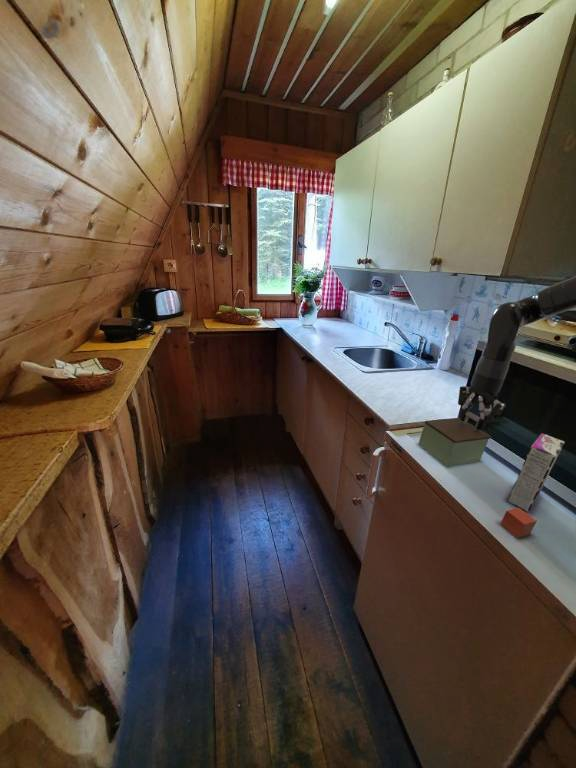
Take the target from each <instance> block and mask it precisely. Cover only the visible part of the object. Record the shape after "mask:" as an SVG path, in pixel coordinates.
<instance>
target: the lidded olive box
mask: <svg viewBox="0 0 576 768" xmlns="http://www.w3.org/2000/svg"><path fill="white" fill-rule="evenodd" d="M489 440H490V439H483V440H476V441H468V442H460V443H453V442H452V441H450V440H449V439H448V438H446V437H445V436H443V435H442V434H440V433H439V432H437V431H436V430H434V429H433V428H431V427H430V426H428V425H427V424H426V423H425V422H424V425H423V428H422V431H421V434H420V438H419V441H418V443H417V444H418V446H419V447H421V448H422V449H423V450H425V451H426V452H427V453H429V454H430V455H431V456H432V457H433V458H435V459H436V460H437V461H438V462H440V463H441V464H442V465H443V466H445V467H452V466H459V465H464V464H470V463H475V462H481V459H482V457H483V454H484V452H485V450H486V447H487V445H488V443H489Z"/></svg>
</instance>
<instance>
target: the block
mask: <svg viewBox="0 0 576 768" xmlns="http://www.w3.org/2000/svg"><path fill="white" fill-rule="evenodd" d="M537 522H538V521H537V519H535V518H534V517H533V516H531V515H530V514H529V513H528V512H527V511H525V510H523V509H522V508H520V507H518V506H517V507H515V508H511V509H507V510H506V511H505V513H504V515H503V516H502V520H501V522H500V525H501V526H502V527H503V528H504V529H506V530H507V531H508V532H509V533H511V535H513V536H514V537H515V538H516V539H520V538H523V537H527V536H529V535H531V533H532V531H533V529H534V527H535V526H536V524H537Z"/></svg>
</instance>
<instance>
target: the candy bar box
mask: <svg viewBox="0 0 576 768" xmlns="http://www.w3.org/2000/svg"><path fill="white" fill-rule="evenodd" d="M564 445H565V441H564V440H561V439H559V438H556V437H554V436H551V435H549V434H547V433H546V434H545V433H540V435H539V436H538V438H536V440H535V441H534V442H533V444H532V445H531V446H530V448H529V450H528V453H527V455H526V457H525V459H524V462H523V464H522V466H521V469H520V471H519V473H518V476H517V478H516V480H515V483H514V485H513V487H512V489H511V491H510V493H509V496H508V498H507V502H509V503H510V504H511V505H514V506H516V507H517V508H518V507H519V508H520V509H522V510H523V511H524V512H526V513H529V512H530V511H531V510H532V508H533V506H534V504H535V503H536V501H537V499H538V498H539V495H540V494H541V492H542V489H543V487H544V485H545V483H546V481H547V479H548V477H549V475H550V473H551V472H552V469H553V467H554V465H555V463H556V461H557V459H558V457H559V455H560V453H561V452H562V449H563V447H564Z"/></svg>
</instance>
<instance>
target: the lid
mask: <svg viewBox="0 0 576 768" xmlns="http://www.w3.org/2000/svg"><path fill="white" fill-rule="evenodd" d="M465 416H466V417H465V420H464V421H461V420H460V419H461V418H460V417H451V418H441V419H432V420H425V421H424V424H425V423H426V424H427V425H428V426H430V427H431V428H433V429H434V430H436V431H437V432H439V433H440V434H442V435H443V436H445V437H446V438H448V439H449V440H450V441H452V442H453V443H460V442H468V441H476V440H483V439H489V440H490V439H492V437H493V436H492V435H491V434H489V433H487V432H485V431H483V429H482V430H477V429H476V426H477V424H478V421H479V419H480V416H479V415H476V414H474V413H473V412H471V411H470V412H469V411H467V412H466V413H465ZM469 419H471V420H472V421H475V422H476V424H475V425H473V424H472V423H470V422H468V421H469Z"/></svg>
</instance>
